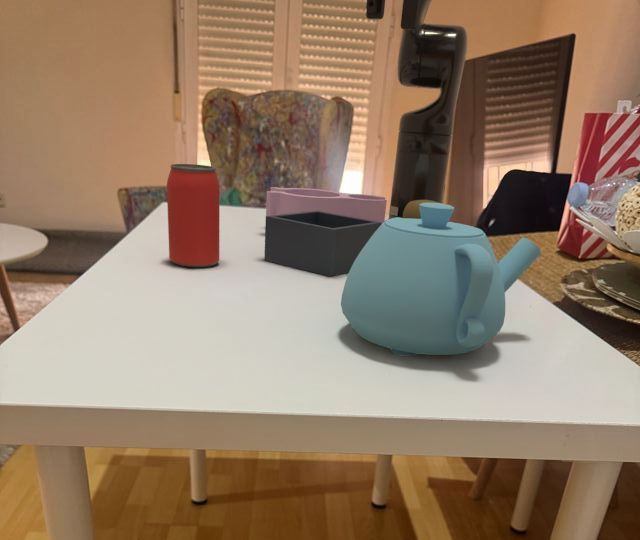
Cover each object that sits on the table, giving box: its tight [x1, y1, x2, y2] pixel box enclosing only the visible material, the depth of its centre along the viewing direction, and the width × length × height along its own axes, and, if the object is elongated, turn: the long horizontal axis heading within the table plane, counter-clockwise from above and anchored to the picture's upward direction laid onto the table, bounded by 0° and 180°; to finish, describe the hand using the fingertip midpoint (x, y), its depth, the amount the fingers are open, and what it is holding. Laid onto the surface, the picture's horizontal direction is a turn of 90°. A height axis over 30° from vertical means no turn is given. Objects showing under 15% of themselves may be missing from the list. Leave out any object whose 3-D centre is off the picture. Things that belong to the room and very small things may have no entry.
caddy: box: [263, 211, 382, 277], centre depth 88 cm, size 12×12×6 cm
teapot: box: [340, 203, 542, 357], centre depth 59 cm, size 20×20×13 cm
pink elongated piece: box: [265, 186, 388, 223], centre depth 108 cm, size 20×12×7 cm, turn 88°
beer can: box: [166, 163, 220, 268], centre depth 81 cm, size 7×7×12 cm
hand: (392, 24), depth 81 cm, fingers open, 8 cm apart
